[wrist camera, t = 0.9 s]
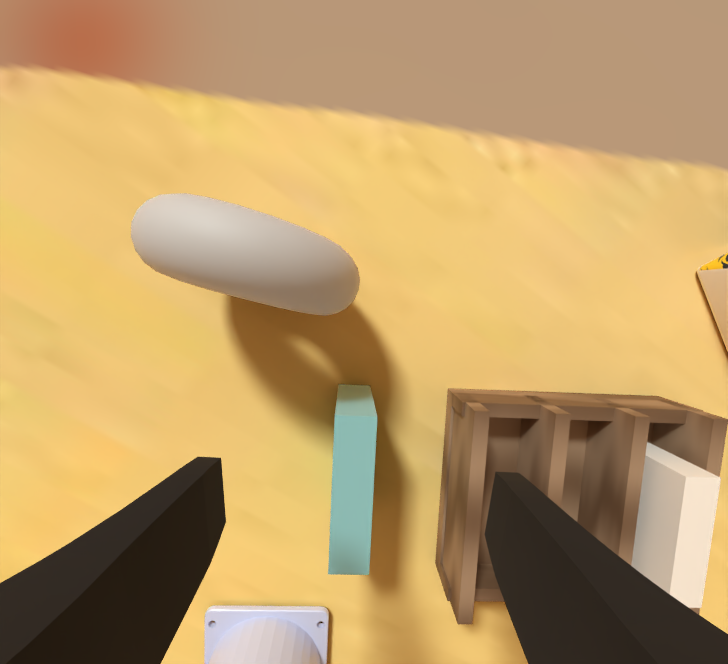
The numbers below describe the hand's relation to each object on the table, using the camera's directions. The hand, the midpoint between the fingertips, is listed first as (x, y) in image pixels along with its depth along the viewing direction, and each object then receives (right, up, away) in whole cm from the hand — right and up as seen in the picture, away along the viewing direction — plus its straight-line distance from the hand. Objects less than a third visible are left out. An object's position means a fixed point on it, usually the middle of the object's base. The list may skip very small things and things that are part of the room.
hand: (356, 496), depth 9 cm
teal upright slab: (-1, -3, +14) cm, 14 cm away
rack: (+12, -6, +14) cm, 20 cm away
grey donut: (-5, +8, +13) cm, 16 cm away
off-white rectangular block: (+17, -6, +14) cm, 22 cm away
